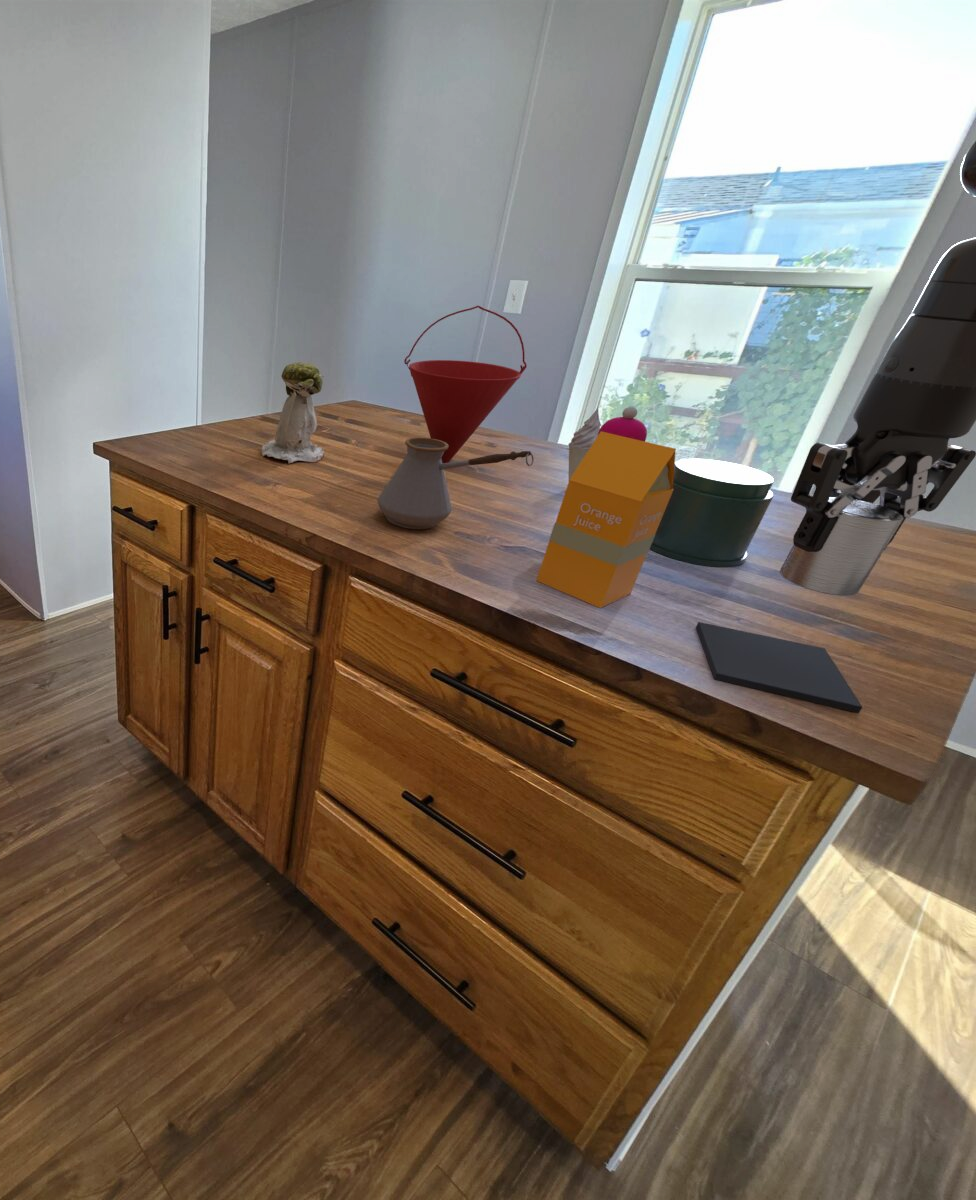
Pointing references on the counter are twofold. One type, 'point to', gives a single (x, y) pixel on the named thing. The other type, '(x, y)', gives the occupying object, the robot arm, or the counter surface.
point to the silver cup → (844, 550)
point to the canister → (712, 512)
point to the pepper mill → (626, 425)
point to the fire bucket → (459, 393)
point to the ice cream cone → (583, 441)
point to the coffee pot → (426, 484)
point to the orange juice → (608, 519)
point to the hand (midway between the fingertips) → (837, 548)
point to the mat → (776, 666)
